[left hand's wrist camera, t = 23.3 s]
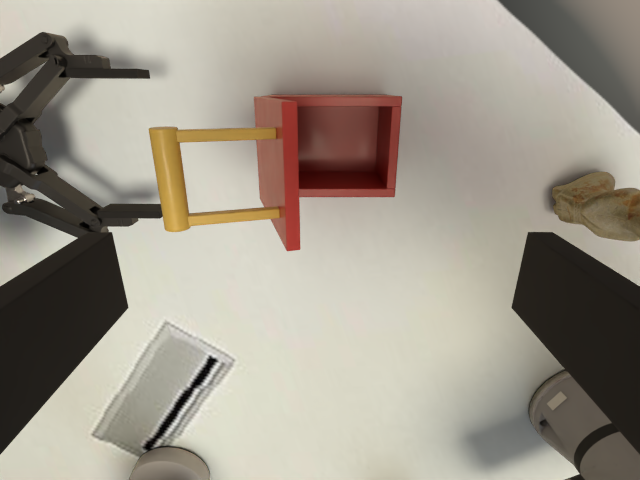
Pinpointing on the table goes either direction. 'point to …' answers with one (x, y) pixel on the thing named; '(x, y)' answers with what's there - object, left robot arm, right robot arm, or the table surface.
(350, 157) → the chest
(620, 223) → the sculpture
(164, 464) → the bust sculpture
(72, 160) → the table surface
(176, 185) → the lid
